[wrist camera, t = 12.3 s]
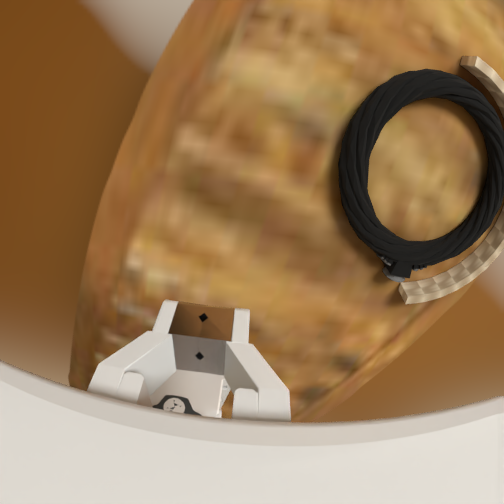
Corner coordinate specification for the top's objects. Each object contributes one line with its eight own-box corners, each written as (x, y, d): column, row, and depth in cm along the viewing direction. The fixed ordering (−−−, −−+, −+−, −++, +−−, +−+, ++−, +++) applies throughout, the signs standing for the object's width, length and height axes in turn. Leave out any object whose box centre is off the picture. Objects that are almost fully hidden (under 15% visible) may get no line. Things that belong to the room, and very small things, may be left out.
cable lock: (532, 126, 26) (460, 295, 41) (516, 120, 29) (450, 281, 44) (376, 31, 23) (307, 267, 39) (364, 35, 27) (303, 252, 42)
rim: (470, 294, 45) (478, 306, 42) (397, 290, 45) (404, 304, 42) (534, 100, 26) (548, 104, 23) (460, 55, 25) (475, 55, 22)
